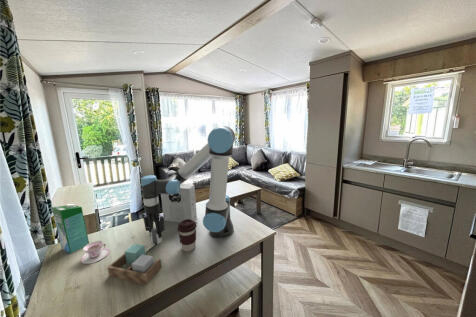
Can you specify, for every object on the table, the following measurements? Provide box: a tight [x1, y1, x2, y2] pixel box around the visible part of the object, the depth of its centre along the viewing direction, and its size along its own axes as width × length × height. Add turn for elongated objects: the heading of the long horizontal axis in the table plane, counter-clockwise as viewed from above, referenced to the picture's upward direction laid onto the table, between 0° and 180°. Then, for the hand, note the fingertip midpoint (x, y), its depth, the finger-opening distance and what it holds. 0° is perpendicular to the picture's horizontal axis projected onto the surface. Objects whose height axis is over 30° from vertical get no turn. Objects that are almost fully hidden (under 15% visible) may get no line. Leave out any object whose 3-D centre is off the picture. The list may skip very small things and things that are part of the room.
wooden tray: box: [107, 252, 162, 285], centre depth 87 cm, size 20×10×4 cm, turn 75°
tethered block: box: [124, 226, 158, 266], centre depth 99 cm, size 6×19×9 cm, turn 163°
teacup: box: [80, 240, 110, 265], centre depth 98 cm, size 12×12×6 cm
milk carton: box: [51, 203, 90, 254], centre depth 104 cm, size 9×9×25 cm
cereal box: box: [160, 183, 198, 223], centre depth 130 cm, size 22×8×25 cm, turn 77°
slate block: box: [132, 254, 155, 273], centre depth 85 cm, size 6×6×7 cm
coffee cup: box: [177, 219, 198, 252], centre depth 102 cm, size 10×10×15 cm
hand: (156, 241), depth 108 cm, fingers closed on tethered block, 3 cm apart
